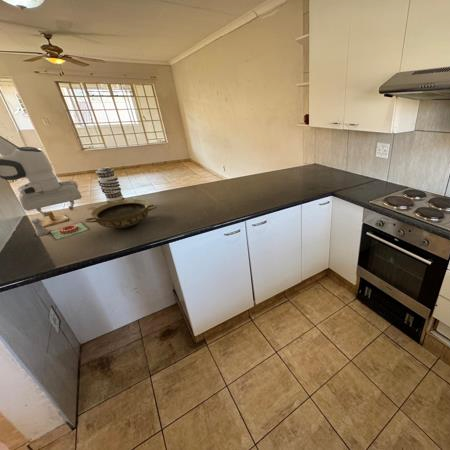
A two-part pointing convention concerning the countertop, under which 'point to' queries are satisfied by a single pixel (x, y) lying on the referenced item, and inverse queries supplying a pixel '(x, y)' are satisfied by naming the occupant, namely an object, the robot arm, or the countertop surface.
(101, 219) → the ceramic bowl
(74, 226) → the ring
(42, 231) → the rook chess piece
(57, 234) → the mat
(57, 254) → the countertop surface
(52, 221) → the holder
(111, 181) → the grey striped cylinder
